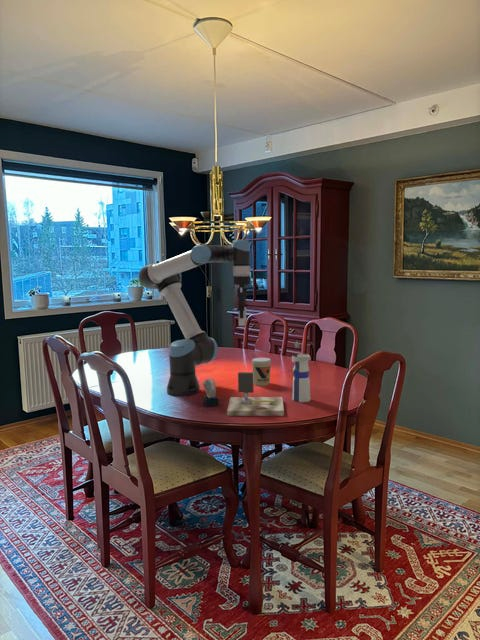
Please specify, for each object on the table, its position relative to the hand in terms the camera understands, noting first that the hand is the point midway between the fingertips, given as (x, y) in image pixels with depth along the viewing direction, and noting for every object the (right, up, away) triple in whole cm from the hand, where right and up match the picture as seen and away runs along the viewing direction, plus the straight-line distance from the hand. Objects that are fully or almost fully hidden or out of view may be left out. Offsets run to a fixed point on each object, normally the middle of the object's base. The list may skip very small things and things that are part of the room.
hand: (242, 323), depth 215 cm
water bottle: (+25, -33, -8) cm, 42 cm away
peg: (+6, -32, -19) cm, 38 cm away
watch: (-13, -34, -13) cm, 39 cm away
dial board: (+5, -34, -19) cm, 40 cm away
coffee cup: (+9, -30, +19) cm, 36 cm away
